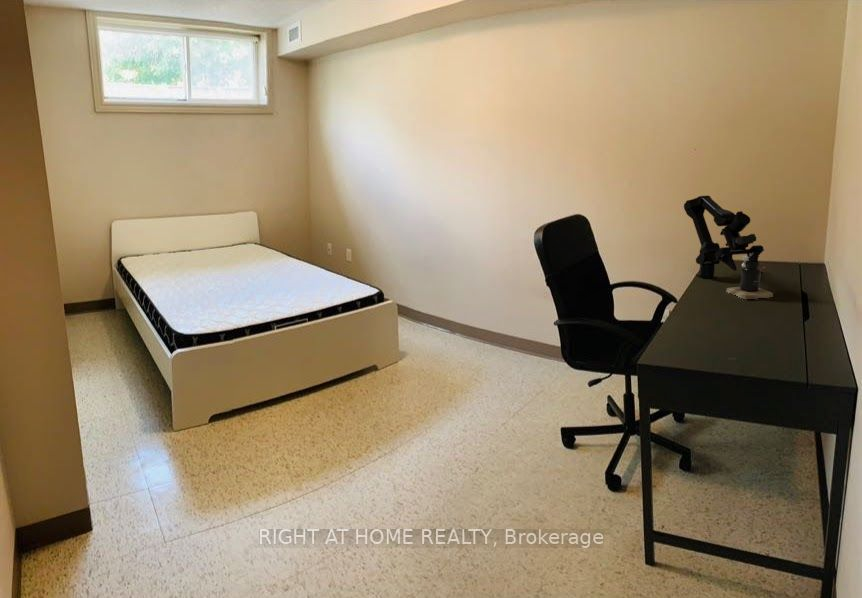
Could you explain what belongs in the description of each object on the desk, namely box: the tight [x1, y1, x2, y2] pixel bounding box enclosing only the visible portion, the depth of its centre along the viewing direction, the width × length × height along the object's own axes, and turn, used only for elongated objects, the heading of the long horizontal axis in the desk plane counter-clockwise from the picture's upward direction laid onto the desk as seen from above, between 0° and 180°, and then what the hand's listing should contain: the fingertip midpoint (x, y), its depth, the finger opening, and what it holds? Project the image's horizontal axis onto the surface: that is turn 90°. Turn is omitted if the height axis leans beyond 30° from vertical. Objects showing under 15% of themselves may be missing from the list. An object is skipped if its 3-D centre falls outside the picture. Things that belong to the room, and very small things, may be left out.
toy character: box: [741, 255, 766, 273], centre depth 277 cm, size 10×9×12 cm
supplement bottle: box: [739, 260, 762, 292], centre depth 242 cm, size 7×7×12 cm
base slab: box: [726, 286, 774, 301], centre depth 244 cm, size 12×12×2 cm
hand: (746, 269), depth 245 cm, fingers open, 9 cm apart
